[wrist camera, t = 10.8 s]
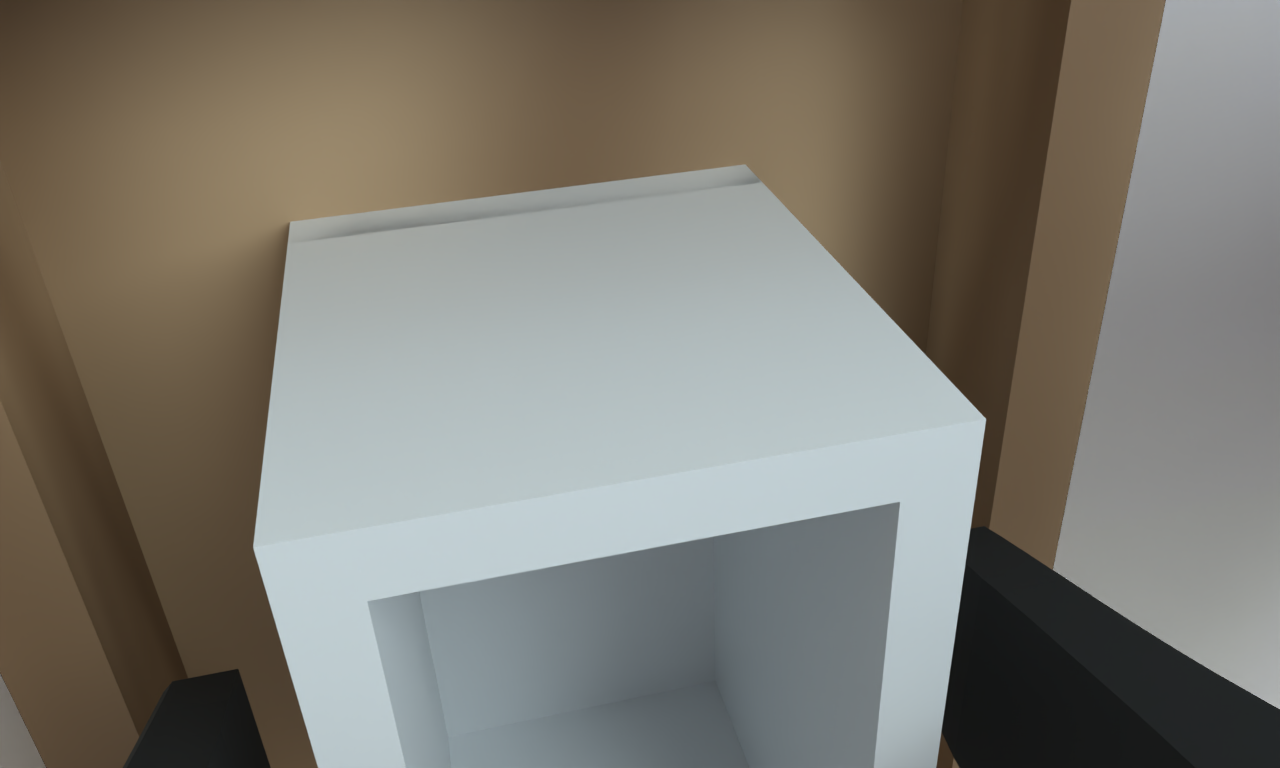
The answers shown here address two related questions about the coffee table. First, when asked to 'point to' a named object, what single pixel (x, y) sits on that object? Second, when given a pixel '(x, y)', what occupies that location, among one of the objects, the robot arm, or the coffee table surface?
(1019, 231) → the walnut crate
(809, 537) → the white crate
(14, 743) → the coffee table surface
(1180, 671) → the robot arm
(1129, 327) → the coffee table surface
